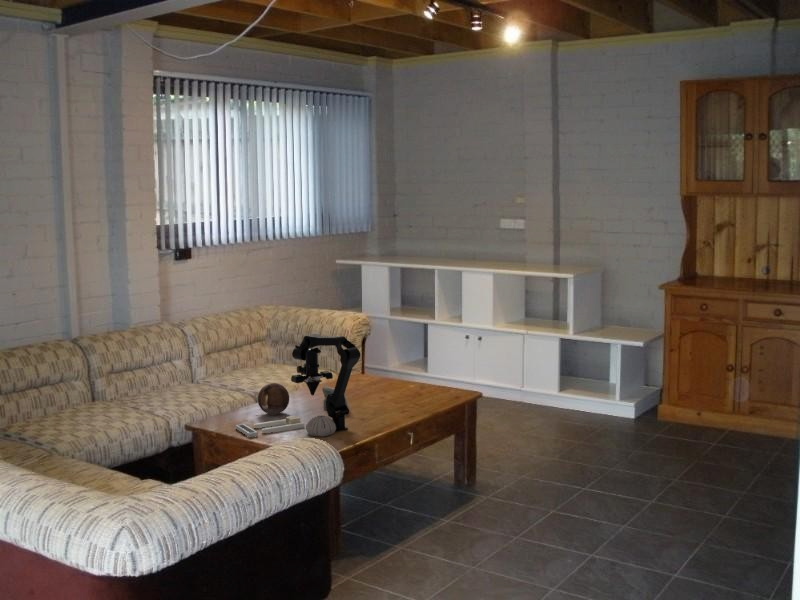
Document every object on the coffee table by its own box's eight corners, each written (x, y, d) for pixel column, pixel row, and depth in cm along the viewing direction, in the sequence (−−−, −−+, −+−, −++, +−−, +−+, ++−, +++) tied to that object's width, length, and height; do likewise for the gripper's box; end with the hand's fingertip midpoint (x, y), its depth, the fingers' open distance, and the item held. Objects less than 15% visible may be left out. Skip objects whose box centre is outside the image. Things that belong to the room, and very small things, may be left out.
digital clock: (350, 412, 434) (350, 390, 433) (333, 414, 430) (333, 392, 429) (336, 404, 448) (335, 383, 447) (319, 407, 444) (319, 386, 443)
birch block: (300, 426, 410) (300, 417, 409) (290, 428, 407) (290, 419, 407) (295, 424, 414) (295, 415, 413) (285, 425, 411) (285, 417, 411)
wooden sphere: (278, 408, 442) (277, 378, 440) (295, 414, 431) (295, 383, 429) (252, 413, 432) (251, 383, 430) (269, 419, 421) (268, 388, 419)
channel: (304, 427, 407) (304, 423, 407) (263, 434, 397) (262, 429, 397) (294, 422, 417) (293, 417, 416) (253, 428, 406) (253, 424, 406)
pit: (257, 436, 393) (257, 432, 393) (249, 438, 391) (249, 433, 391) (244, 428, 407) (244, 423, 406) (235, 429, 405) (235, 425, 404)
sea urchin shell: (341, 431, 401) (341, 413, 400) (328, 439, 389) (327, 421, 387) (314, 428, 406) (314, 411, 405) (300, 436, 393) (300, 418, 392)
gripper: (322, 356, 424) (322, 389, 426) (285, 361, 414) (286, 394, 416) (333, 360, 414) (333, 394, 416) (296, 365, 404) (296, 399, 406)
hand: (312, 395), depth 414 cm, fingers closed
